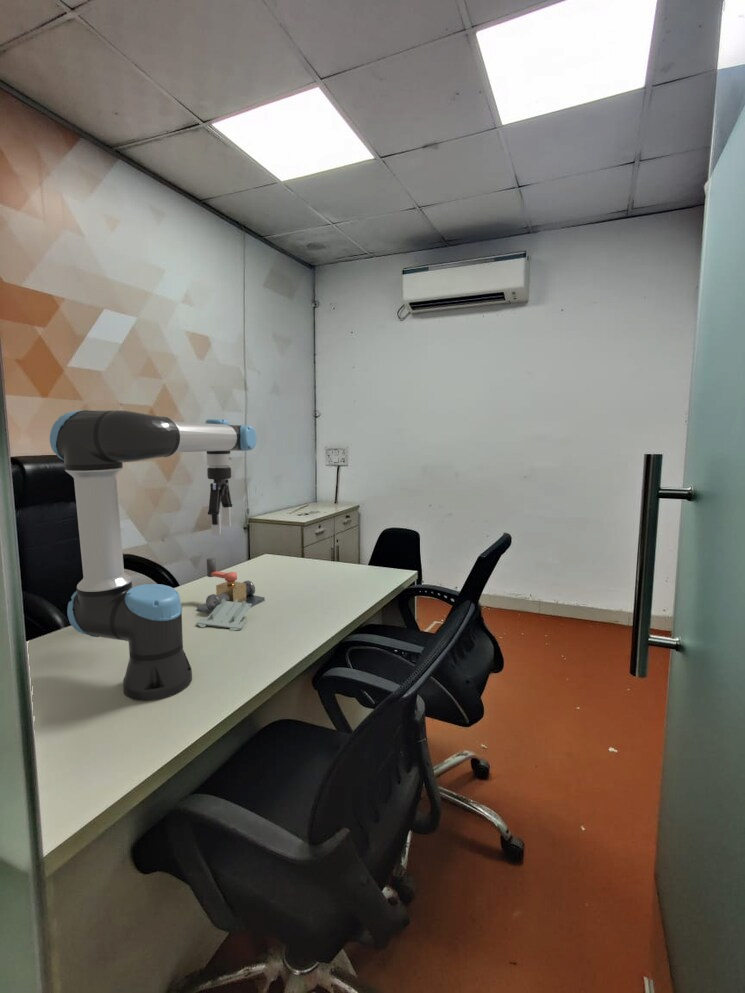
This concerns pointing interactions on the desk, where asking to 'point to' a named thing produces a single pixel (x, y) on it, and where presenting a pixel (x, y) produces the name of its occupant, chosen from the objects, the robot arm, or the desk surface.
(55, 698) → the desk surface
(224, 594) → the valve
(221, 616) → the metal bracket
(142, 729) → the desk surface
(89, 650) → the desk surface
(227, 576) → the lever
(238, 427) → the robot arm
